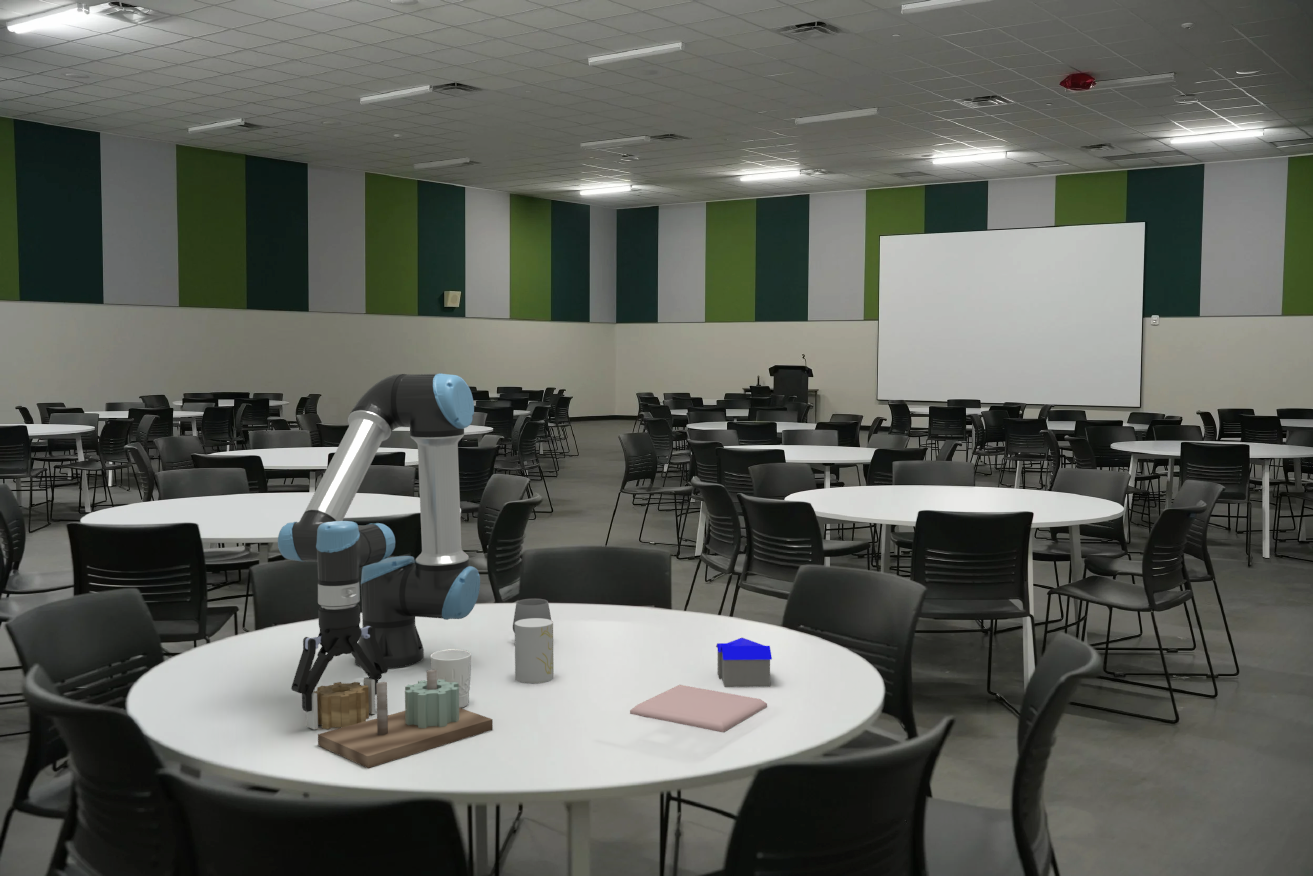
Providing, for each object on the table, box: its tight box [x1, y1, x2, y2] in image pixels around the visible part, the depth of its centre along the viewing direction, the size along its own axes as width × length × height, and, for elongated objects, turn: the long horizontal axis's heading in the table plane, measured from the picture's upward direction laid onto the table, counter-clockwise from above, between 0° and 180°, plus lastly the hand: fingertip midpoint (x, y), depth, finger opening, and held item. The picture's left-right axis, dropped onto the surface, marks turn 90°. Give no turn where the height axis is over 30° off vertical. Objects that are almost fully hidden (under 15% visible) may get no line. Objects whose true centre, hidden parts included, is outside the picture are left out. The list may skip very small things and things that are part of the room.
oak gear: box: [313, 681, 370, 730], centre depth 206 cm, size 10×10×6 cm
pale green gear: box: [404, 679, 459, 728], centre depth 200 cm, size 10×10×6 cm
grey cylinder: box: [514, 618, 555, 685], centre depth 233 cm, size 8×8×12 cm
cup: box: [512, 598, 552, 634], centre depth 263 cm, size 10×9×10 cm
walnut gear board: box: [317, 669, 494, 769], centre depth 196 cm, size 16×26×11 cm, turn 137°
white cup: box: [430, 648, 472, 709], centre depth 215 cm, size 8×8×10 cm
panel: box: [629, 684, 768, 733], centre depth 206 cm, size 35×33×2 cm
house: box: [715, 637, 773, 688], centre depth 232 cm, size 11×11×8 cm
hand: (341, 719), depth 206 cm, fingers open, 11 cm apart
